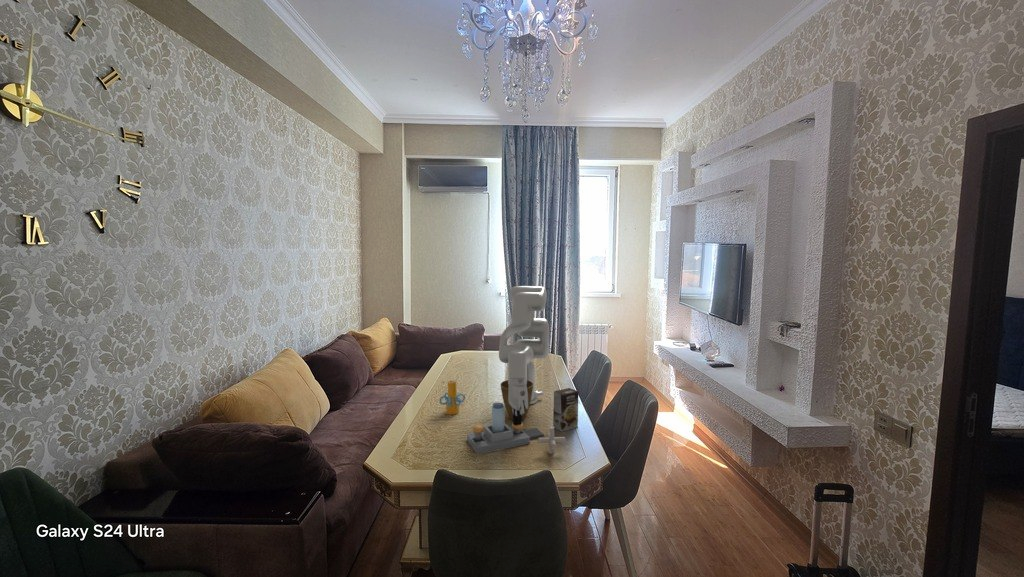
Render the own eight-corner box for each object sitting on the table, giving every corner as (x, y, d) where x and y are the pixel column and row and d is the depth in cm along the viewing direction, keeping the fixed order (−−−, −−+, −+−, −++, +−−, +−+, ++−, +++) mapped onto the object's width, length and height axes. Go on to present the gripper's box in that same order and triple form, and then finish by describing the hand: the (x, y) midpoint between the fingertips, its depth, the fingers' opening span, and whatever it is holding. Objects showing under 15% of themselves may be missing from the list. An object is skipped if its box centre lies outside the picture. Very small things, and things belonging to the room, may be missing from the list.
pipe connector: (536, 447, 171) (537, 422, 170) (562, 446, 172) (562, 421, 171) (540, 459, 161) (540, 433, 160) (567, 458, 162) (567, 432, 161)
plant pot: (529, 410, 208) (529, 377, 207) (536, 423, 194) (536, 388, 192) (498, 412, 206) (498, 379, 204) (503, 425, 191) (503, 390, 189)
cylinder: (459, 418, 199) (458, 386, 197) (437, 416, 201) (436, 384, 199) (467, 408, 211) (466, 378, 209) (446, 406, 213) (446, 376, 211)
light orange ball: (519, 431, 182) (520, 421, 181) (524, 435, 178) (524, 425, 177) (510, 433, 180) (510, 422, 179) (514, 437, 176) (514, 426, 175)
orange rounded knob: (481, 434, 175) (481, 424, 174) (485, 439, 171) (485, 428, 170) (471, 436, 173) (470, 425, 172) (474, 441, 169) (474, 430, 168)
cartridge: (501, 432, 179) (501, 401, 177) (506, 437, 174) (506, 405, 173) (490, 434, 176) (489, 403, 175) (494, 439, 172) (494, 407, 171)
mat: (536, 430, 186) (536, 427, 186) (544, 436, 180) (544, 434, 180) (521, 432, 184) (521, 430, 183) (528, 439, 177) (528, 437, 177)
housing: (516, 430, 186) (516, 418, 185) (529, 443, 174) (530, 430, 174) (467, 440, 177) (466, 427, 176) (477, 454, 165) (477, 440, 165)
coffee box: (561, 432, 184) (562, 395, 183) (552, 426, 190) (553, 390, 188) (578, 427, 189) (579, 391, 187) (569, 422, 195) (569, 387, 193)
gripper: (534, 384, 171) (533, 429, 173) (518, 374, 185) (517, 416, 186) (516, 387, 168) (516, 433, 170) (501, 376, 182) (501, 419, 183)
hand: (517, 424), depth 178 cm, fingers closed
